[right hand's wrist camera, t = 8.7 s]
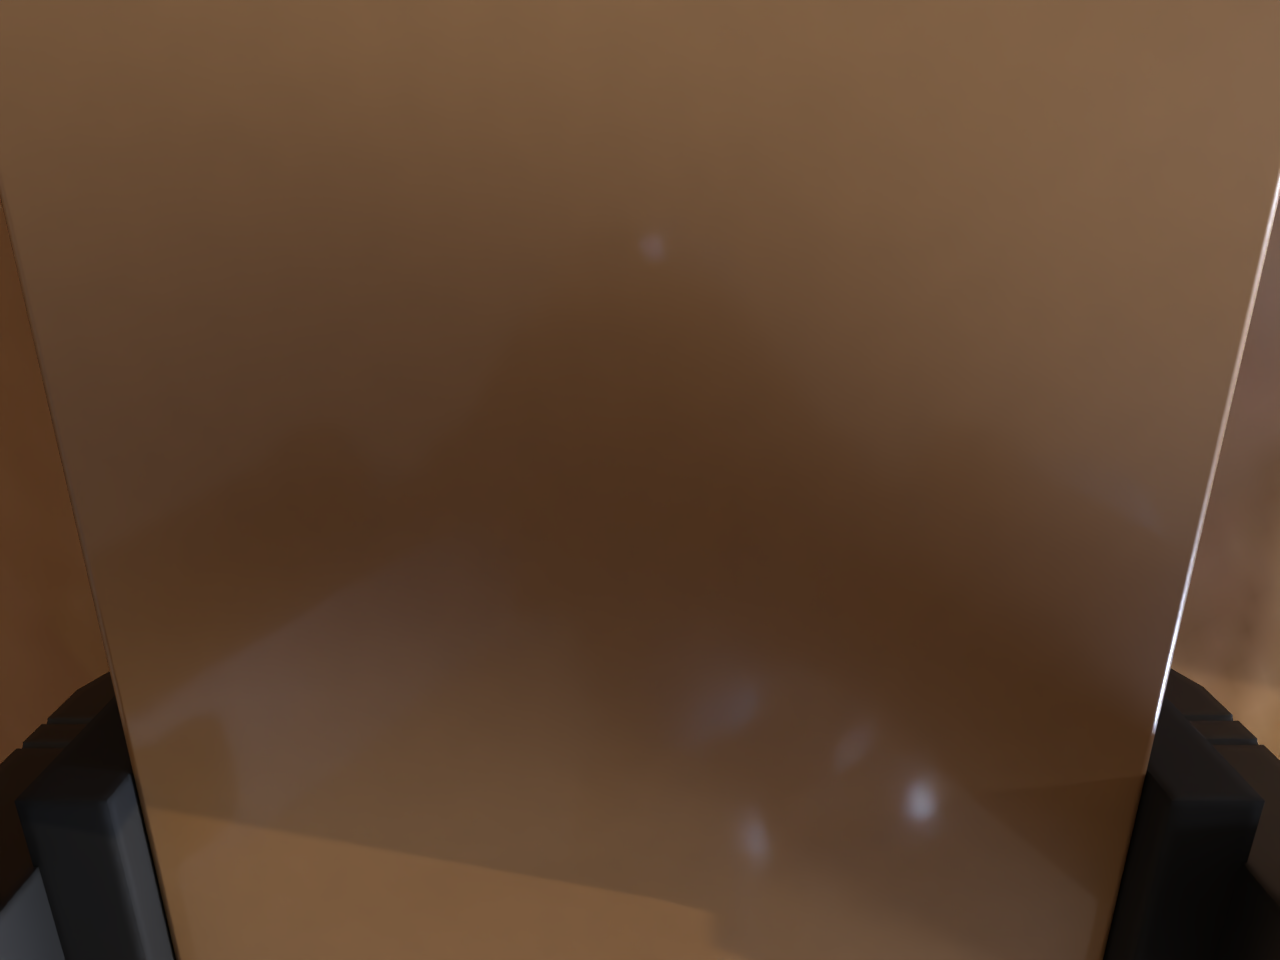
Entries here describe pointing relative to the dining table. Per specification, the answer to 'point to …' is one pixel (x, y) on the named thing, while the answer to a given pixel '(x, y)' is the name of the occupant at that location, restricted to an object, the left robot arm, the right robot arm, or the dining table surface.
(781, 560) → the beam
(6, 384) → the dining table surface
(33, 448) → the dining table surface
